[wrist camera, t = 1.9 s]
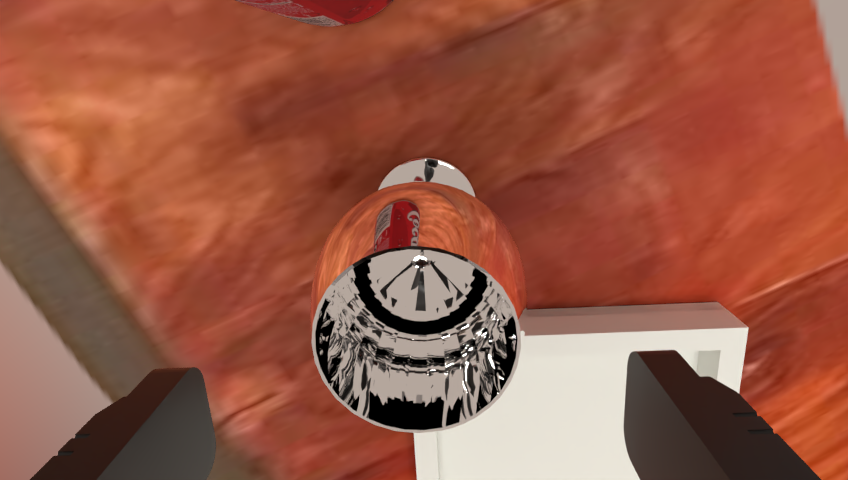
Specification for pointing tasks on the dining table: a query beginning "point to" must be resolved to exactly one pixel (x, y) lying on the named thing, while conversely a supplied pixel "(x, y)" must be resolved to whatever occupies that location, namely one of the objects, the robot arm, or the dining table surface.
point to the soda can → (322, 10)
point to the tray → (579, 392)
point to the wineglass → (419, 302)
